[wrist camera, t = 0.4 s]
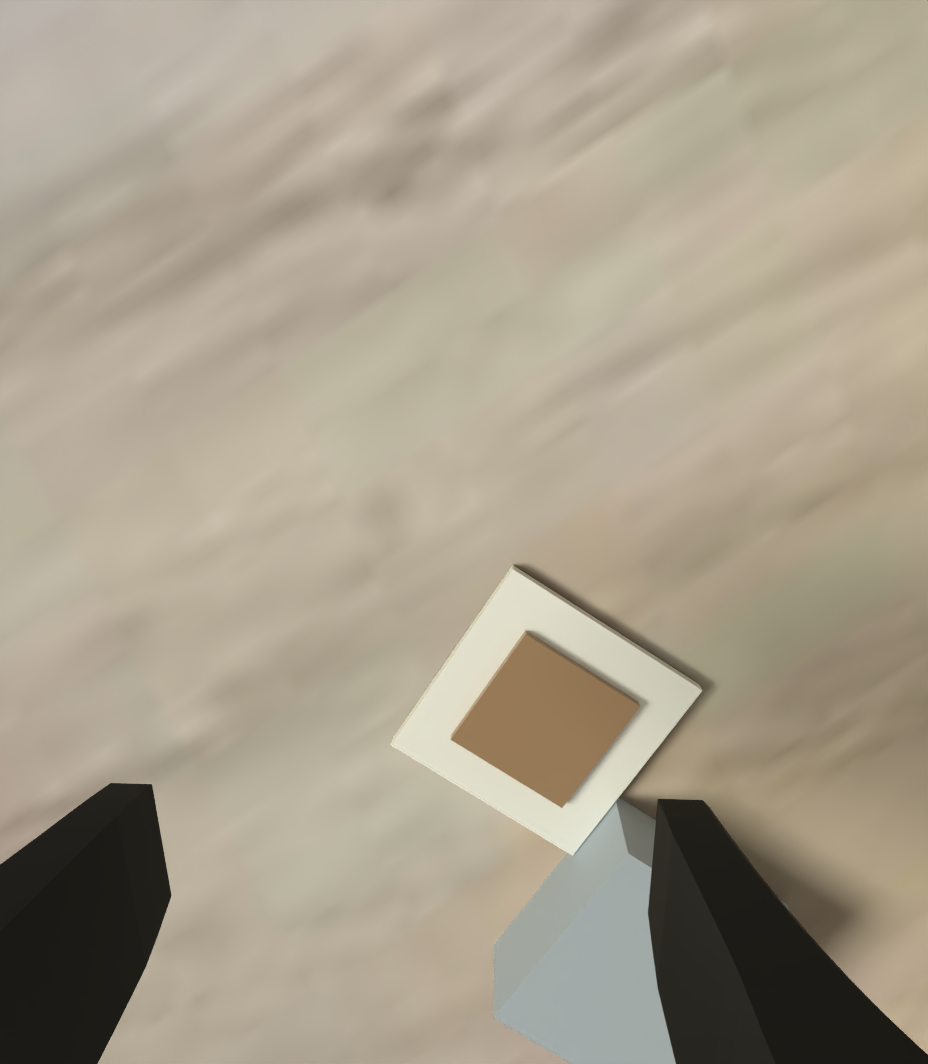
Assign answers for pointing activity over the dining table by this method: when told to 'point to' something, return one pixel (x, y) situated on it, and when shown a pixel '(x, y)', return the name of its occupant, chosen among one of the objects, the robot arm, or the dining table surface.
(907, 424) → the dining table surface
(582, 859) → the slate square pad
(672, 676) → the swatch
